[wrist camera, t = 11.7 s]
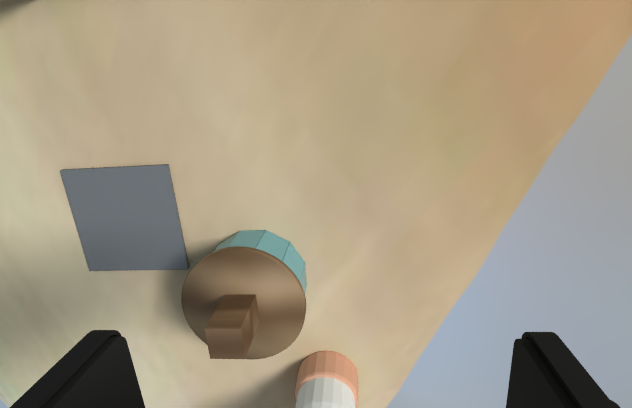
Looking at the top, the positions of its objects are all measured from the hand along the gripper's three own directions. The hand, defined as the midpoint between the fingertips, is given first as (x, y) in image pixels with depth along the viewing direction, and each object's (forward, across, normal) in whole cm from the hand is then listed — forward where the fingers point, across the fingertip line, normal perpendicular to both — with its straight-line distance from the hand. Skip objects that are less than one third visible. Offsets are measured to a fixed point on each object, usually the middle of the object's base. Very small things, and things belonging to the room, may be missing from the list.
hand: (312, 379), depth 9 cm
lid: (+23, +10, +13) cm, 28 cm away
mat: (+28, +24, +6) cm, 38 cm away
